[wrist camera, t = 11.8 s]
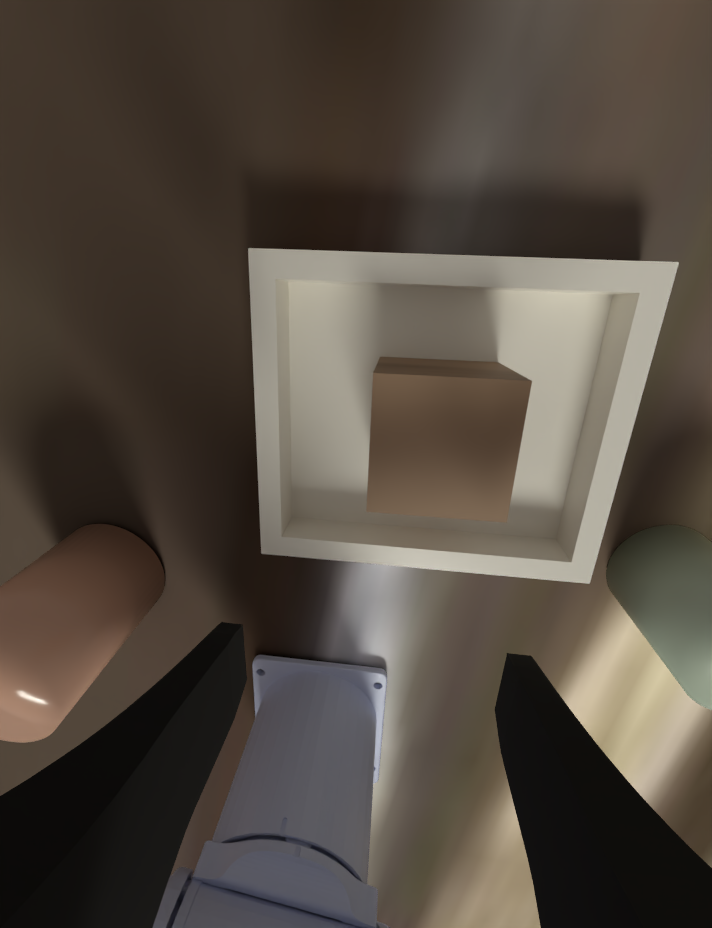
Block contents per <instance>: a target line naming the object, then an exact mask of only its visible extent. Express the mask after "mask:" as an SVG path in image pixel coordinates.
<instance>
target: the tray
mask: <svg viewBox="0 0 712 928" xmlns="http://www.w3.org/2000/svg"><path fill="white" fill-rule="evenodd" d="M248 258H249V281H250V305H251V328H252V351H253V374H254V397H255V421H256V444H257V467H258V490H259V513H260V537H261V554H271V555H282V556H293V557H303V558H314V559H325V560H336V561H347V562H358V563H369V564H380V565H391V566H402V567H413V568H424V569H435V570H446V571H457V572H468V573H478V574H489V575H500V576H511V577H522V578H533V579H544V580H555V581H566V582H577V583H588V584H590V581H591V577H592V574H593V570H594V566H595V563H596V559H597V556H598V552H599V548H600V545H601V541H602V538H603V534H604V530H605V527H606V523H607V520H608V516H609V512H610V509H611V505H612V502H613V498H614V494H615V491H616V487H617V484H618V480H619V476H620V473H621V469H622V466H623V462H624V458H625V455H626V451H627V448H628V444H629V440H630V437H631V433H632V430H633V426H634V422H635V419H636V415H637V412H638V408H639V404H640V401H641V397H642V394H643V390H644V386H645V383H646V379H647V376H648V372H649V368H650V365H651V361H652V358H653V354H654V350H655V347H656V343H657V340H658V336H659V332H660V329H661V325H662V322H663V318H664V314H665V311H666V307H667V304H668V300H669V296H670V293H671V289H672V286H673V282H674V278H675V275H676V271H677V268H678V264H679V262H656V261H625V260H595V259H565V258H535V257H504V256H474V255H444V254H414V253H383V252H353V251H323V250H293V249H263V248H248ZM380 357H399V358H421V359H442V360H463V361H484V362H499V363H500V364H502V365H504V366H506V367H508V368H510V369H511V370H513V371H515V372H517V373H519V374H520V375H522V376H524V377H526V378H528V379H530V380H531V381H532V384H531V390H530V396H529V401H528V407H527V412H526V418H525V423H524V429H523V435H522V440H521V446H520V451H519V457H518V463H517V468H516V474H515V479H514V485H513V490H512V496H511V502H510V507H509V513H508V518H507V523H504V522H491V521H478V520H465V519H453V518H440V517H427V516H414V515H401V514H388V513H375V512H366V507H367V486H368V466H369V445H370V425H371V404H372V384H373V372H374V370H375V367H376V365H377V363H378V360H379V358H380Z"/></svg>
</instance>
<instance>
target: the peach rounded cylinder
mask: <svg viewBox="0 0 712 928" xmlns="http://www.w3.org/2000/svg"><path fill="white" fill-rule="evenodd" d="M164 586H165V575H164V570H163V567H162V565H161V562H160V561H159V559H158V557H157V556H156V554H155V553H154V551H153V550H152V549H151V548H150V547H149V546H148V545H147V544H146V543H145V542H144V541H143V540H141V539H140V538H139V537H137V536H136V535H134V534H133V533H131V532H129V531H127V530H125V529H122V528H120V527H117V526H113V525H108V524H91V525H86V526H83V527H81V528H79V529H77V530H76V531H74V532H73V533H72V534H70V535H69V536H68V537H66V538H65V539H64V540H62V541H61V542H60V543H58V544H57V545H55V546H54V547H53V548H51V549H50V550H49V551H47V552H46V553H45V554H43V555H42V556H41V557H39V558H38V559H37V560H35V561H34V562H33V563H31V564H30V565H28V566H27V567H26V568H24V569H23V570H22V571H20V572H19V573H18V574H16V575H15V576H14V577H12V578H11V579H10V580H8V581H7V582H6V583H4V584H3V585H2V586H0V740H4V741H10V742H33V741H38V740H41V739H43V738H45V737H47V736H49V735H50V734H51V733H52V732H54V730H55V729H56V728H57V727H58V725H59V724H60V723H61V722H62V720H63V719H64V718H65V717H66V715H67V714H68V713H69V712H70V710H71V709H72V708H73V706H74V705H75V704H76V703H77V701H78V700H79V699H80V698H81V696H82V695H83V694H84V693H85V691H86V690H87V689H88V688H89V686H90V685H91V684H92V682H93V681H94V680H95V679H96V677H97V676H98V675H99V674H100V672H101V671H102V670H103V669H104V667H105V666H106V665H107V664H108V662H109V661H110V660H111V658H112V657H113V656H114V655H115V653H116V652H117V651H118V650H119V648H120V647H121V646H122V645H123V643H124V642H125V641H126V640H127V638H128V637H129V636H130V634H131V633H132V632H133V631H134V629H135V628H136V627H137V626H138V624H139V623H140V622H141V621H142V619H143V618H144V617H145V616H146V614H147V613H148V612H149V610H150V609H151V608H152V607H153V605H154V604H155V603H156V602H157V600H158V599H159V598H160V596H161V595H162V592H163V590H164Z"/></svg>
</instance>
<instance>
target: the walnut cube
mask: <svg viewBox="0 0 712 928" xmlns="http://www.w3.org/2000/svg"><path fill="white" fill-rule="evenodd" d="M531 384H532V381H531V380H530V379H528V378H526V377H524V376H522V375H520V374H519V373H517V372H515V371H513V370H511V369H510V368H508V367H506V366H504V365H502V364H500V363H499V362H484V361H463V360H442V359H421V358H399V357H380V358H379V360H378V363H377V365H376V367H375V370H374V372H373V384H372V404H371V425H370V445H369V466H368V486H367V507H366V512H375V513H388V514H401V515H414V516H427V517H440V518H453V519H465V520H478V521H491V522H504V523H507V518H508V513H509V507H510V502H511V496H512V490H513V485H514V479H515V474H516V468H517V463H518V457H519V451H520V446H521V440H522V435H523V429H524V423H525V418H526V412H527V407H528V401H529V396H530V390H531Z"/></svg>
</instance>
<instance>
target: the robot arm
mask: <svg viewBox="0 0 712 928" xmlns="http://www.w3.org/2000/svg"><path fill="white" fill-rule="evenodd" d="M252 667H253V685H254V702H255V721H254V723H253V726H252V729H251V732H250V735H249V737H248V740H247V743H246V746H245V749H244V751H243V754H242V757H241V760H240V763H239V766H238V768H237V771H236V774H235V777H234V780H233V782H232V785H231V788H230V791H229V794H228V796H227V799H226V802H225V805H224V808H223V810H222V813H221V816H220V819H219V822H218V825H217V827H216V830H215V833H214V836H213V839H212V841H206V842H205V844H204V847H203V850H202V852H201V855H200V858H199V861H198V863H197V866H196V869H195V871H194V874H193V870H192V869H189V868H185V867H180V868H178V869H177V870H176V871H175V872H174V873H173V875H171V876H170V874H171V871H172V868H173V866H174V863H175V860H176V857H177V854H178V851H179V849H180V846H181V843H182V840H183V837H184V834H185V831H186V829H187V826H188V824H189V821H190V819H191V816H192V814H193V812H194V809H195V807H196V805H197V802H198V800H199V798H200V795H201V793H202V791H203V789H204V786H205V784H206V782H207V780H208V777H209V775H210V773H211V771H212V768H213V766H214V764H215V762H216V759H217V757H218V755H219V753H220V750H221V748H222V746H223V744H224V741H225V739H226V737H227V734H228V732H229V730H230V727H231V725H232V723H233V720H234V718H235V715H236V712H237V709H238V706H239V703H240V700H241V697H242V693H243V690H244V687H245V684H246V680H247V676H246V663H245V650H244V636H243V625H242V624H232V623H223V622H221V623H220V624H219V625H218V626H217V627H216V628H214V629H213V630H212V631H211V632H210V633H209V634H208V635H207V636H206V637H205V638H204V639H203V640H202V641H201V642H200V643H199V644H198V645H197V646H196V647H195V648H194V649H193V650H192V651H191V652H190V653H189V654H188V655H187V656H186V657H184V658H183V659H182V660H181V661H180V662H179V663H178V664H177V665H176V666H175V667H174V668H173V669H172V670H170V671H169V672H168V673H167V674H166V675H165V676H164V677H163V678H162V679H161V680H160V681H158V682H157V683H156V684H155V685H154V686H153V687H152V688H150V689H149V690H148V691H147V692H146V693H145V694H143V695H142V696H141V697H140V698H139V699H137V700H136V701H135V702H134V703H133V704H132V705H130V706H129V707H128V708H127V709H126V710H124V711H123V712H122V713H121V714H119V715H118V716H117V717H116V718H114V719H113V720H112V721H111V722H109V723H108V724H107V725H105V726H104V727H103V728H101V729H100V730H99V731H97V732H96V733H95V734H93V735H92V736H91V737H89V738H88V739H87V740H85V741H84V742H83V743H81V744H80V745H78V746H77V747H75V748H74V749H73V750H71V751H70V752H68V753H67V754H65V755H64V756H62V757H61V758H59V759H58V760H56V761H55V762H53V763H52V764H50V765H49V766H47V767H46V768H44V769H43V770H41V771H40V772H38V773H37V774H35V775H34V776H32V777H31V778H29V779H28V780H26V781H24V782H23V783H21V784H20V785H18V786H16V787H15V788H13V789H11V790H10V791H8V792H6V793H5V794H3V795H1V796H0V928H390V927H389V926H387V925H386V924H384V923H380V922H377V899H378V890H377V888H375V887H373V886H370V885H367V879H368V862H369V845H370V828H371V811H372V794H373V783H376V782H377V781H378V778H379V767H380V755H381V744H382V732H383V721H384V709H385V698H386V686H387V672H386V671H385V670H384V669H381V668H375V667H366V666H357V665H348V664H339V663H330V662H321V661H312V660H303V659H294V658H285V657H276V656H267V655H258V656H256V657H255V658H254V660H253V664H252ZM260 669H262V670H264V671H262V670H260ZM377 682H378V683H380V684H377ZM495 714H496V721H497V729H498V736H499V742H500V749H501V754H502V758H503V762H504V766H505V770H506V774H507V778H508V782H509V786H510V790H511V794H512V798H513V802H514V806H515V810H516V814H517V818H518V822H519V826H520V830H521V834H522V838H523V841H524V845H525V849H526V853H527V857H528V862H529V866H530V871H531V875H532V880H533V885H534V890H535V896H536V902H537V908H538V913H539V919H540V925H541V928H712V868H711V867H710V866H709V865H708V864H707V863H706V862H705V861H703V860H702V859H701V858H700V857H699V856H698V855H697V854H696V853H695V852H694V851H693V850H692V849H691V848H690V847H689V846H688V845H687V844H686V843H685V842H684V841H683V840H682V839H681V838H680V837H679V836H678V835H677V834H676V833H675V832H674V831H673V830H672V829H671V828H670V827H669V826H668V825H667V824H666V823H665V821H664V820H663V819H662V818H661V817H660V816H659V815H658V814H657V813H656V812H655V811H654V810H653V809H652V808H651V807H650V806H649V804H648V803H647V802H646V801H645V800H644V799H643V798H642V797H641V796H640V795H639V793H638V792H637V791H636V790H635V789H634V788H633V787H632V785H631V784H630V783H629V782H628V781H627V780H626V779H625V777H624V776H623V775H622V774H621V773H620V772H619V770H618V769H617V768H616V767H615V766H614V764H613V763H612V762H611V761H610V760H609V758H608V757H607V756H606V755H605V754H604V752H603V751H602V750H601V749H600V747H599V746H598V745H597V744H596V742H595V741H594V740H593V739H592V737H591V736H590V735H589V734H588V732H587V731H586V730H585V728H584V727H583V726H582V724H581V723H580V722H579V721H578V719H577V718H576V717H575V715H574V714H573V713H572V711H571V710H570V709H569V707H568V706H567V705H566V703H565V702H564V701H563V699H562V698H561V697H560V695H559V694H558V692H557V691H556V690H555V688H554V687H553V685H552V684H551V683H550V681H549V680H548V678H547V677H546V676H545V674H544V673H543V671H542V670H541V669H540V667H539V666H538V664H537V663H536V662H535V660H534V659H533V658H532V657H531V656H527V655H518V654H509V653H507V657H506V661H505V666H504V670H503V675H502V679H501V684H500V688H499V693H498V697H497V702H496V706H495ZM192 874H193V877H192Z"/></svg>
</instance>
